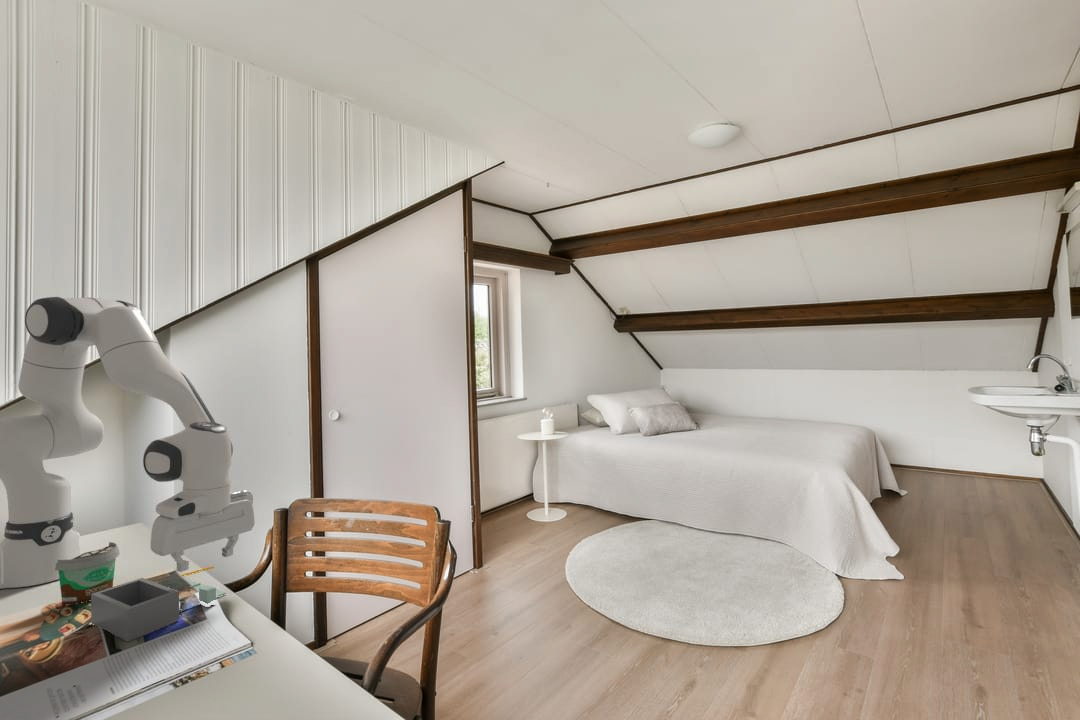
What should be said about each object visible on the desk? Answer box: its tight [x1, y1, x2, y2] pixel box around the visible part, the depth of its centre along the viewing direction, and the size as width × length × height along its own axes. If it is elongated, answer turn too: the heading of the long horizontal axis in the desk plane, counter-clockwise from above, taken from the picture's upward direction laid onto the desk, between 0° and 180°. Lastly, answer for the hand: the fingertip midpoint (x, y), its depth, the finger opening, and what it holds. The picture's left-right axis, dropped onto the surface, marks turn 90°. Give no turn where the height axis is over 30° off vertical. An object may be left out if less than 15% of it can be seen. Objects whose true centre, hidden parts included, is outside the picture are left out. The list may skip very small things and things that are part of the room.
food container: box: [55, 541, 120, 605], centre depth 120 cm, size 12×6×10 cm, turn 168°
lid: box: [179, 579, 227, 610], centre depth 119 cm, size 17×10×4 cm, turn 61°
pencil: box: [180, 565, 215, 577], centre depth 129 cm, size 1×18×1 cm, turn 143°
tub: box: [90, 577, 180, 642], centre depth 108 cm, size 14×9×6 cm, turn 62°
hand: (205, 562), depth 116 cm, fingers open, 8 cm apart
